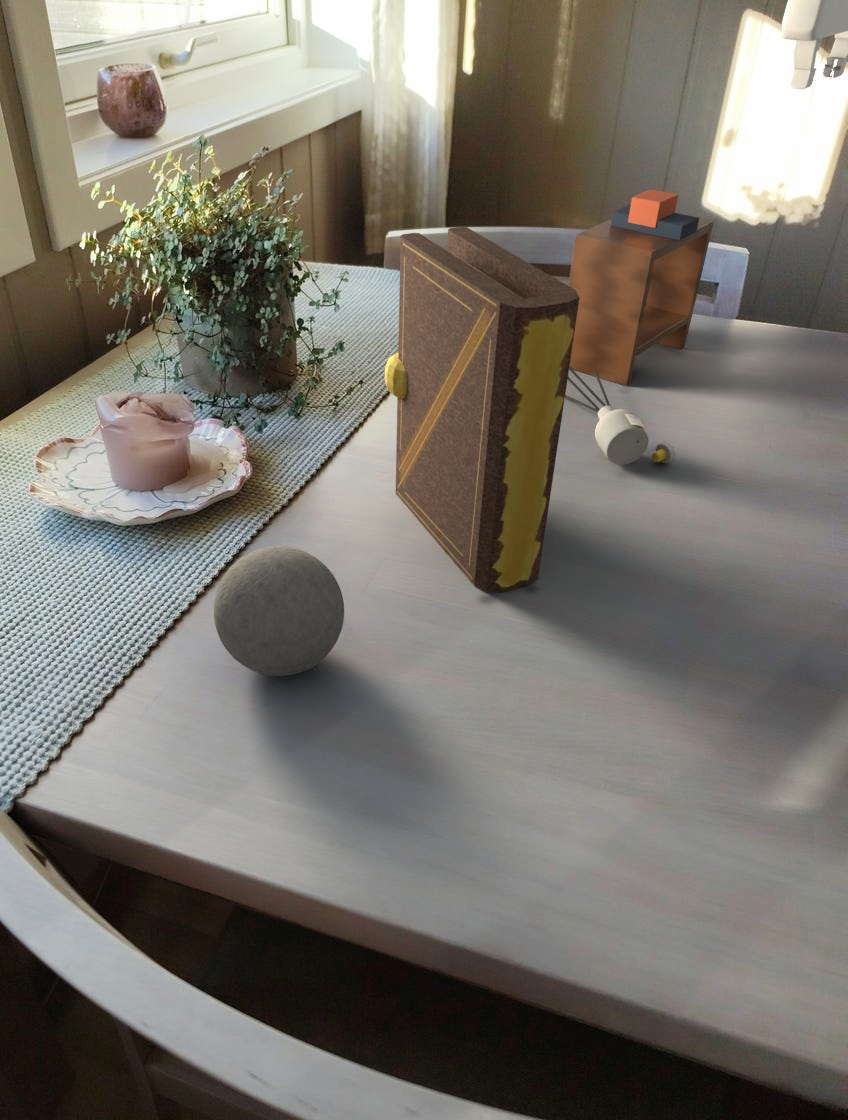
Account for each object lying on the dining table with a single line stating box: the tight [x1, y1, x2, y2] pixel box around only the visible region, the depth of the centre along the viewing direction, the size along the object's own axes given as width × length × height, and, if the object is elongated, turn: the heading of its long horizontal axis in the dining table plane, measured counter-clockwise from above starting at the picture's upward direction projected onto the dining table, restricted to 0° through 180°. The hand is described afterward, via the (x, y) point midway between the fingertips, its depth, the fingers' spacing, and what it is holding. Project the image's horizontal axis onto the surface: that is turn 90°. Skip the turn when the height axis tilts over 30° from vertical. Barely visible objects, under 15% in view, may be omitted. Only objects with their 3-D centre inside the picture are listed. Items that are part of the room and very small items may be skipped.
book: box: [384, 226, 580, 593], centre depth 79 cm, size 22×8×25 cm, turn 23°
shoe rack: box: [568, 217, 715, 387], centre depth 113 cm, size 10×16×16 cm, turn 139°
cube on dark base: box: [611, 189, 700, 240], centre depth 106 cm, size 9×5×4 cm, turn 49°
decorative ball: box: [213, 545, 345, 677], centre depth 69 cm, size 10×10×10 cm
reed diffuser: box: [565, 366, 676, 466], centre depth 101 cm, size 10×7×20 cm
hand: (816, 82), depth 98 cm, fingers open, 8 cm apart
